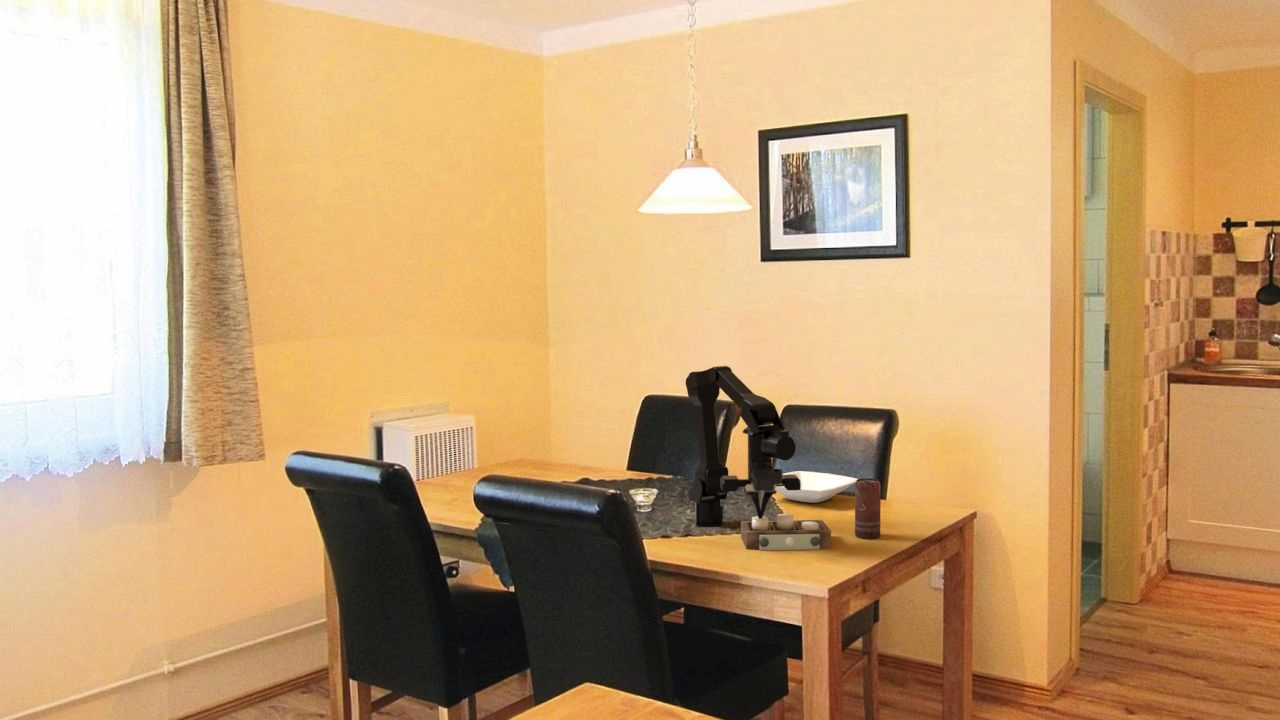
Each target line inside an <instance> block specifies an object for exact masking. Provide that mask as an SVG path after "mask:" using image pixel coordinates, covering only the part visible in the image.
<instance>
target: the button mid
mask: <svg viewBox="0 0 1280 720" xmlns="http://www.w3.org/2000/svg"><path fill="white" fill-rule="evenodd" d="M794 517H795V516H794V514H791V513H779V514H776V521H777V529H780V530H791V529H793V528H794Z"/></svg>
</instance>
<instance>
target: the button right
mask: <svg viewBox="0 0 1280 720" xmlns="http://www.w3.org/2000/svg"><path fill="white" fill-rule="evenodd" d="M802 530H818V523H817V522H810V521H808V522H802Z"/></svg>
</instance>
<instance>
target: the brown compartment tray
mask: <svg viewBox="0 0 1280 720" xmlns="http://www.w3.org/2000/svg"><path fill="white" fill-rule="evenodd" d="M808 521H810V522H817V523H818V530H802V522H808ZM789 534H819V540H820V543H819V549H820V548H823V549H824V548H825V547H826V548H832V530H831V529H830V528H829V526H828V525H827V524H826V522H825V521H824V520H823V519H803V520H802V519H800V520H799V519H795V520H794V528H793V529H791V530H780V529H777V520H769V531H752V520H744V521H743V520H742V521H740V535H741V536H740V537H741V540H742V543H743V544H744V547H745V549H746V550H754V549H755V550H758V549H759V550H760V543H759V541H760V535H789Z"/></svg>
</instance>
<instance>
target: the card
mask: <svg viewBox="0 0 1280 720" xmlns="http://www.w3.org/2000/svg"><path fill="white" fill-rule="evenodd" d="M759 543H760V549H759V551H785V550H786V551H790V550H791V551H793V550H797V551H798V550H800V551H802V550H804V551H805V550H820V548H819V543H820V540H819V534H789V535H760V541H759Z"/></svg>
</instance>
